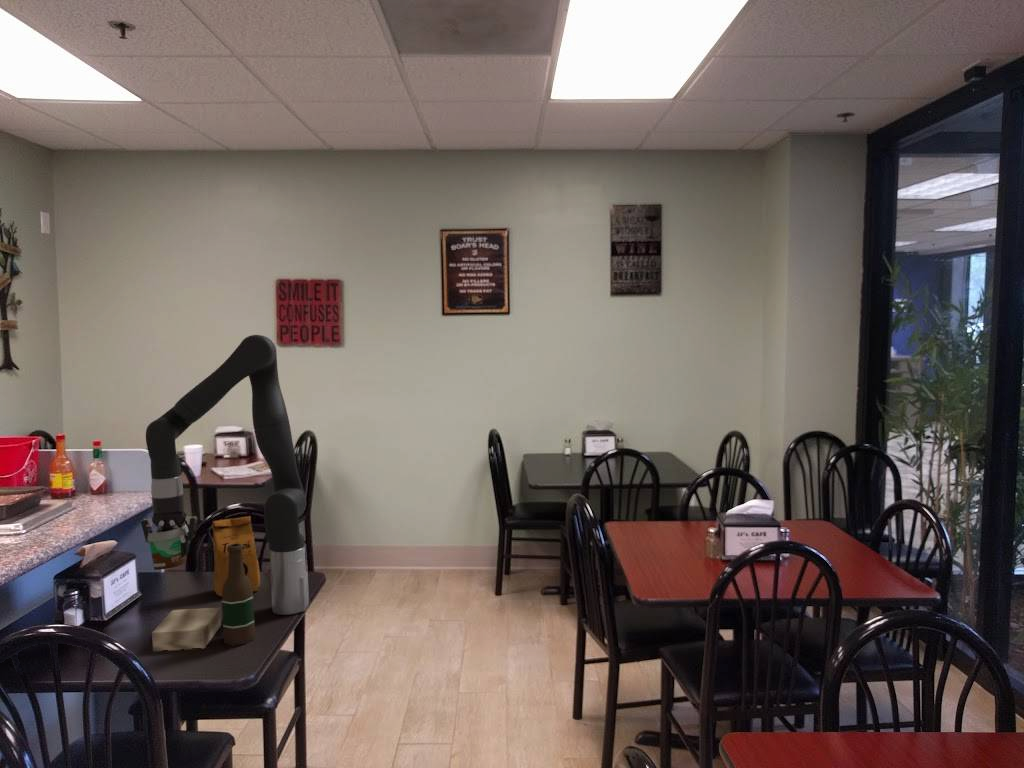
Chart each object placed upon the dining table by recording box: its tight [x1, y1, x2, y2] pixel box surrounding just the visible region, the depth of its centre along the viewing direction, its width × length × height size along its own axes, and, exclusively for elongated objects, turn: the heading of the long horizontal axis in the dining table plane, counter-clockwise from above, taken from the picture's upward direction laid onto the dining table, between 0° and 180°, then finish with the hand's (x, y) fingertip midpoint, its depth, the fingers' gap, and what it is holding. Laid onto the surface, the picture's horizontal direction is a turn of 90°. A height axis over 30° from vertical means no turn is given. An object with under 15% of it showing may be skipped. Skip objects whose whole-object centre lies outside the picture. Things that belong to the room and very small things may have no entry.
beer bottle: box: [221, 543, 256, 647], centre depth 183 cm, size 8×8×24 cm
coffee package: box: [211, 515, 261, 597], centre depth 216 cm, size 10×12×22 cm
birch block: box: [151, 606, 222, 652], centre depth 185 cm, size 12×14×5 cm
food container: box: [146, 521, 189, 571], centre depth 196 cm, size 12×6×10 cm, turn 168°
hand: (172, 556), depth 196 cm, fingers closed on food container, 5 cm apart
